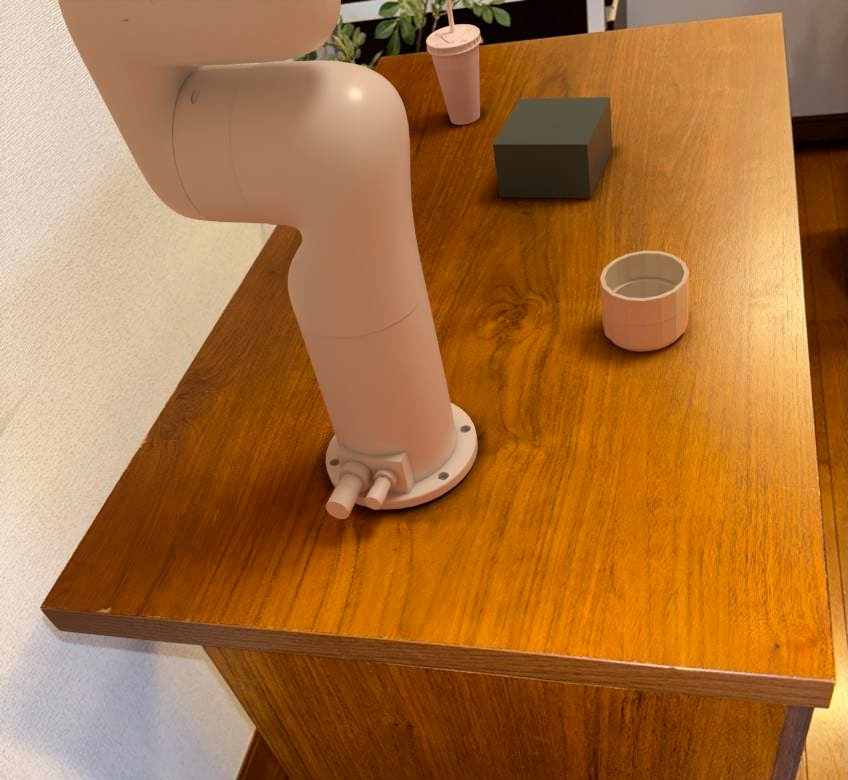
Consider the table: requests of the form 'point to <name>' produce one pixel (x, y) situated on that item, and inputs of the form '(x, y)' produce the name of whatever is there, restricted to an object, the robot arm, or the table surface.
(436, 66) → the smoothie
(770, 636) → the table surface
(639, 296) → the cup
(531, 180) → the stand
